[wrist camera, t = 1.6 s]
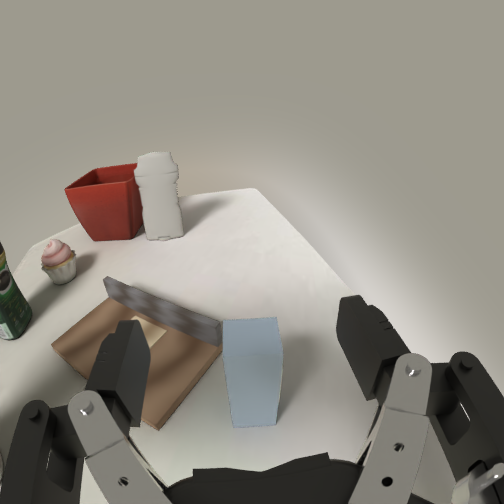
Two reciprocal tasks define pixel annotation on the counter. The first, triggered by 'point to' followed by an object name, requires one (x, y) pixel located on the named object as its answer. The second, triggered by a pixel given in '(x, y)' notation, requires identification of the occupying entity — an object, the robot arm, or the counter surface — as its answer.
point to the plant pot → (108, 202)
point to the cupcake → (59, 262)
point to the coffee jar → (11, 303)
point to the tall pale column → (159, 196)
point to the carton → (253, 370)
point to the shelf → (158, 338)
